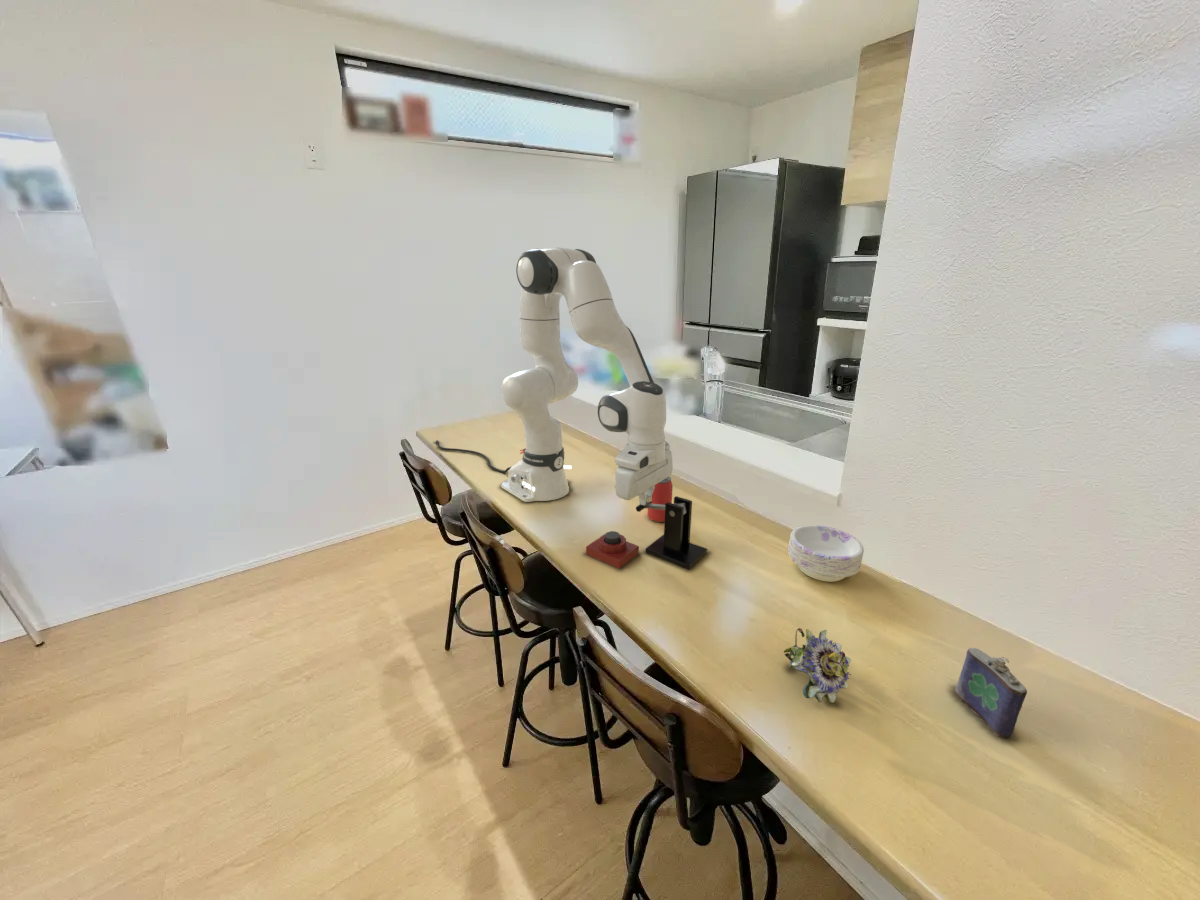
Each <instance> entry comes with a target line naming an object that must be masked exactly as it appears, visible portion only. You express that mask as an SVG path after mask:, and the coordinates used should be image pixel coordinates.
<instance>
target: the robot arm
mask: <svg viewBox="0 0 1200 900" xmlns="http://www.w3.org/2000/svg"><path fill="white" fill-rule="evenodd" d="M515 269H516V270H515V271H516V279H517V281H518V283H519V286H520V294H519V295H520V296H519V305H518V309H519V310H518V317H519V319H518V320H519V343H520V346H521V348H522V349H523V350H524V351H525V352H526V353H527V354H529V355H531V356H532V358H533V362H534V368H528V369H523V370H519V371H516V372H514V373H512V374H510V375H508V376H506V377H505V378H504V379H503V381H502V382H501V385H500V386H501V387H500V395H501V398H502V400H503V402H504V404H505V405H506V406H507V407H508V408H509V409H510V410H512V411H514V412H515V413H516V414H517V416H518V417H519V418H520V421H521V424H522V426H523V432H524V443H525V448H523V449H520V450H519V454H520V455H521V454H523V455H522V458H521V459H520V460H518V462H516V463H515V464H514V465H512V466H509V467H506V469H505V470H504V469H503V470H501V469H499V468H496V467H495V466H493V465H492V464H491V463H490V459H489V458H488V457H487V456H486V455H485V454H484V453H482V452H479V451H475V450H470V449H464V448H463V449H461V448H450V447H443V446H441V445H440V442H439V440H438V439H437V440H436V441H435V444H436V445H437V447H438V448H439V449H441V450H443V451H451V452H452V451H454V452H455V451H456V452H463V453H470V454H475V455H478V456H481V457H483V458H484V459H485V460H486V462H487V465H488V467H489V469H492V470H494V471H495V472H498V473H502V474H506V473H508V474H507V479H505V480H503V482H502V483H501V484H500V487H501V488H502V489H503V490H505V491H506V492H508V493H510V494H511V495H513V496H514V497H516V498H517V499H519V500H521V501H522V502H523V503H531V502H548V501H549V502H550V501H555V500H558V499H559V500H560V499H561V498H563V497H565V496H567V495H568V494H569V492H570V487H569V480H568V478H567V472H566V469H567V470H571V469H572V465H565V449H564V447H563V427H562V424H561V422H560V421H559V420H558V419H557V418H555V417H554V416H551V414H550V411H549V405H550V404H553V403H556V402H560V401H564V400H565V399H567V398H569V397H570V396H572V395H573V394H575V393H576V391H577V390H578V386H579V378H578V374H577V373H576V371H575V369H574V367H572V366H571V365H569V364H568V362H567V361H566V358H565V355H564V353H563V349H562V344H561V325H560V324H561V323H560V319H561V318H560V301H561V298H562V297H564V298H565V301H566V306H567V310H568V314H569V317H570V321H571V324H572V327H573V330H574V331H575V333H576V335H577V336H578V338H579V339H581V340H582V341H583V342H585V343H586V344H589V345H591V346H594V347H598V348H601V349H604V350H606V351H608V352H610V353H612V355H614V356H615V357H616V358H617V359H618V361H619V363H620V365H621V368H622V370H623V372H624V375H625V377H626V379H627V382H628V384H629V386H628V387H627V388H624V389H622V390H618V391H614V392H610V393H607V394H605V395H602V397H601V398H600V399H599V402H598V404H597V417H598V421H599V423H600V424H601V426H602V427H603V428H604V429H606V430H607V431H608V432H612V433H626V434H627V443H626V444H625V446H624V447H623V448H622V450H621V451H619V453H618V454H617V455H615V458H614V464H615V466H617V467H616V469H615V474H614V475H615V476H614V477H615V478H614V479H615V480H614V488H615V489H614V490H615V491H614V492H615V495H616V496H617V498H619V499H622V500H624V501H631V500H633V499H635V498H636V497H638V500H639V501H638V503H639V504H638V505H640V504H641V505H646V504H647V503H649V502H651V501H652V494H653V491H654V488H655V485H656V484H657V483H659V482H660V481H662V480H664V479H665V478H667V477H671V476H672V473H673V470H674V469H673V467H674V465H673V453H672V451H671V450H670V449H671V446H670V445H671V444H669V442H667V441H666V435H665V427H666V423H667V399H666V394H665V390H664V388H663V387H662V386H660V385H659V384H657V383H655V382H654V380H653V377H652V375H651V373H650V369H649V367H648V365H647V362H646V361H645V359H644V356H643V354H642V353H643V352H642V351H641V348H640V347H639V344H638V342H637V339H636V337H635V336H634V335H635V334H634V333H633V332H632V330H631V329H630V328H629V326H627V325H626V323H624V322H623V319H622V318H621V317H620V314H619V313H618V311H617V308H616V305H615V301H614V299H613V295H612V293H611V290H610V287H609V285H608V282H607V280H606V277H605V275H604V273H603V271H602V269H601V267H600V266H599V264H597V260H596V259H595V257H594V256H593V255H592V254H591V253H590V252H588V251H586V250H584V249H580V248H575V249H574V248H568V247H554V248H552V247H551V248H541V249H540V248H532V249H529V250H526V251H523V252H522V253H521V254H520V256H519V258H518V260H517V262H516V268H515Z"/></svg>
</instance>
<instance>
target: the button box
mask: <svg viewBox="0 0 1200 900" xmlns="http://www.w3.org/2000/svg"><path fill="white" fill-rule="evenodd" d="M605 534H606V533H604V534H602V535H601V536H600V537H599V538H597V539H595V540H594V541H592V542H591V543H589V544H588V545H586V547H585V552H586V556H590V557H591V558H593V559H596V560H598V561H600V562H603V563H605V564H607V565H609V566H611V567H615V568H617V569H621V568H622V567H624V566H625V565H626V564H628V563H629V562H631V560H633V559H634V558H635V557H637V556H638V555H640V554H639V552H640V551H639V550H640V546H639V545H637V544H634V543H633V542H629V541H627V538H626V537H625V536H624V535H622V534H620V542H619V543H618V544H614V545H612V544H607V543H606V542H605Z"/></svg>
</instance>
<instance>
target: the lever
mask: <svg viewBox="0 0 1200 900" xmlns="http://www.w3.org/2000/svg"><path fill="white" fill-rule="evenodd" d="M672 504H675V505H679V506H682V507H684V513H683V515H684V514H685V513H687V512H686V505H685V503H678V502H675V503H674V502H672ZM645 509H647V510H648V509H657V510H665V505H661V504H651V502H649V503H647V504H646V505H641V504H638V505H636V507H635V510H636V512H642V511H643V510H645Z"/></svg>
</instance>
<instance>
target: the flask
mask: <svg viewBox="0 0 1200 900" xmlns="http://www.w3.org/2000/svg"><path fill="white" fill-rule="evenodd" d="M1007 663H1010V660H1009V658H1006V657H1004V656H1001V657H995V656H990V655H989V654H987V653H986V652H984V651H983V650H981V649H979V648H975V647H969V648H968V649H967V651H966V654H965V659H964V662H963V665H962V669H961V671H960V674H959V677H958V680H957V683H956V685H955V689H954V693H955V695H956V697H957V698H958V699H959V701H960V702H963V703H964V704H965V705H966V706H967V708H968V709H969V710H970V711H971V712H972V713H973V714H974V715H976V716H977V717H979V718H980V721H981V722H983V723H985V724H986V725H987V728H989V729H990V730H991V731H992V732H993V734H994V735H995V736H997V737H1000V738H1001V739H1003V740H1010V739H1011V738H1012V735H1013V733H1014V730H1015V727H1016V725H1017V722H1018V718H1019V716H1020V712H1021V710H1022V707H1023V704H1024V702H1025V699H1026V696H1027V694H1028V690H1027V688H1026V687H1025V685H1024V684H1023V683H1021V681H1019V679H1018V678H1017V677H1016V676H1015V674H1013V673H1012V672H1011V669H1010V668H1009V667H1008V666H1007V665H1006V664H1007Z"/></svg>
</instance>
